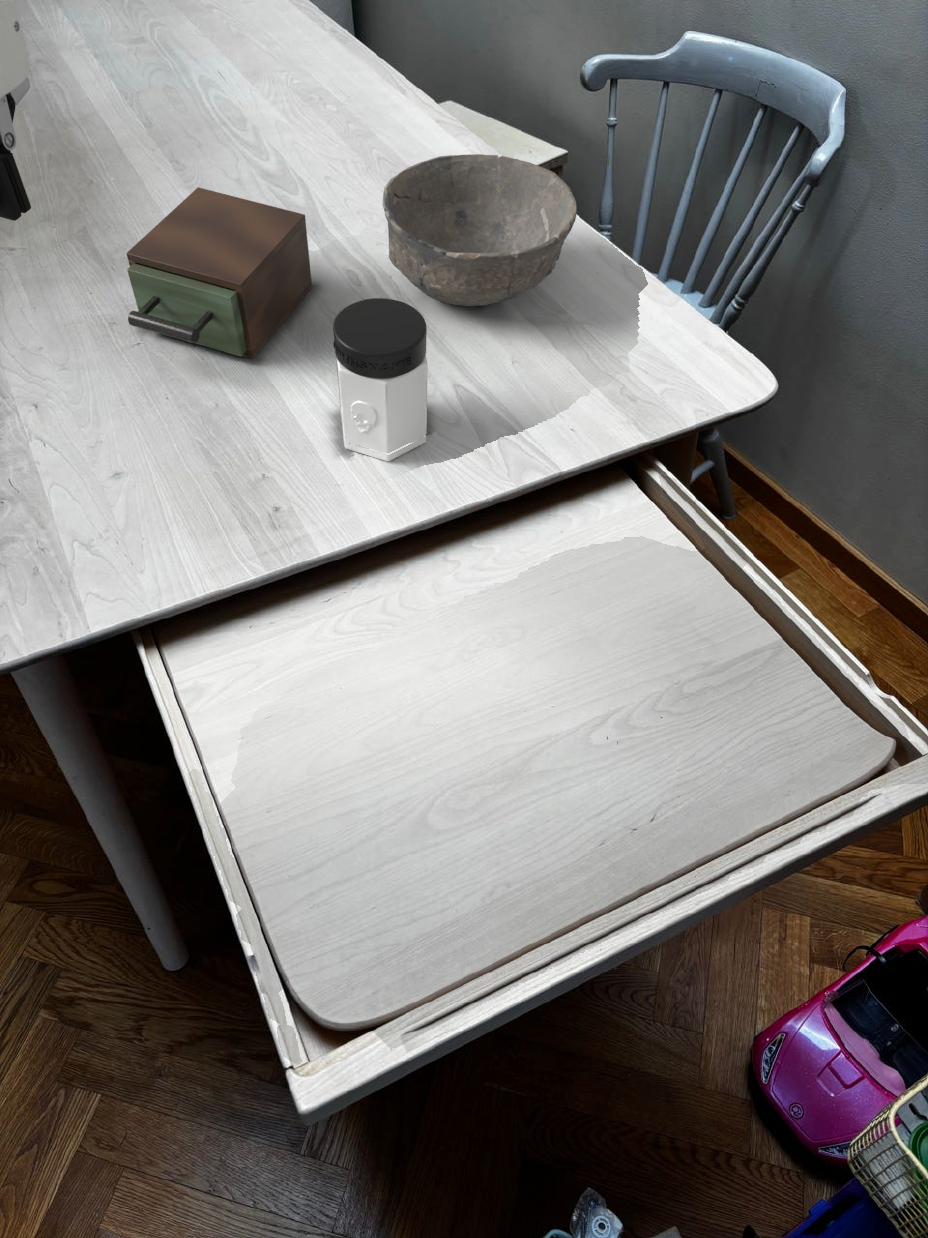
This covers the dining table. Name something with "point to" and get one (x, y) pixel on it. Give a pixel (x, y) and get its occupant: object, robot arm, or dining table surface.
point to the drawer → (186, 309)
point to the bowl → (476, 226)
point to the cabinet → (235, 256)
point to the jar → (381, 376)
